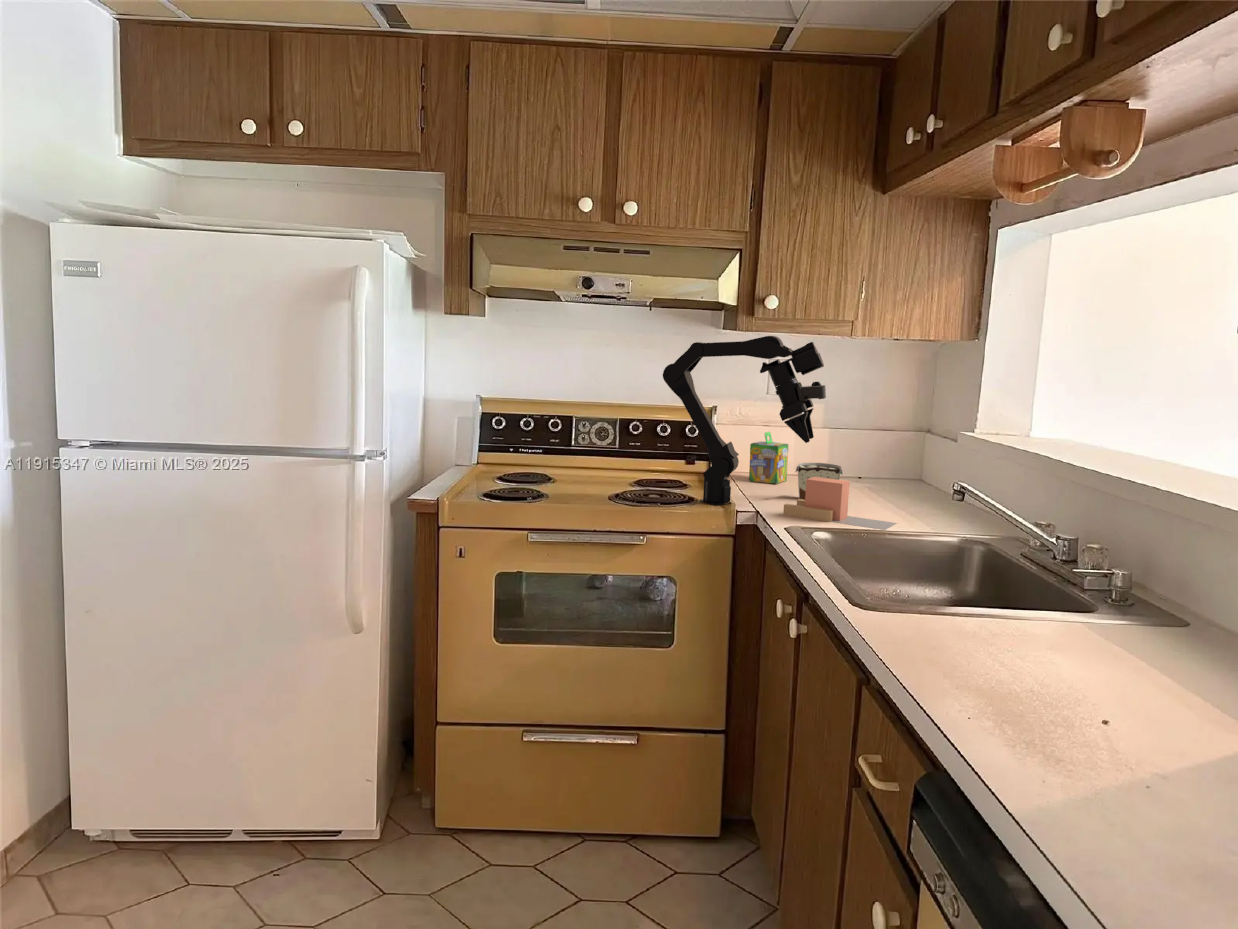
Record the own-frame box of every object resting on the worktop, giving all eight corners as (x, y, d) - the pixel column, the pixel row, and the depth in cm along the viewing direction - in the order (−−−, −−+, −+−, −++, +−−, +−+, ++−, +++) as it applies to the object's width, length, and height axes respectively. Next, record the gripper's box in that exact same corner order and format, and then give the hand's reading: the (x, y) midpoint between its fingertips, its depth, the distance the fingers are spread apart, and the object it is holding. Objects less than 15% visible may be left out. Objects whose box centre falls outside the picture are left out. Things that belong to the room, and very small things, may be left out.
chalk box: (776, 485, 266) (779, 435, 264) (747, 481, 270) (750, 432, 268) (787, 481, 274) (790, 432, 271) (759, 477, 278) (762, 429, 276)
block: (804, 515, 219) (806, 479, 218) (811, 512, 223) (814, 476, 222) (839, 521, 214) (842, 483, 213) (847, 517, 218) (849, 481, 217)
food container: (837, 499, 245) (839, 463, 244) (840, 504, 239) (843, 466, 237) (791, 497, 246) (793, 461, 245) (793, 501, 240) (795, 464, 239)
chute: (779, 516, 220) (780, 504, 220) (794, 510, 228) (795, 498, 228) (884, 532, 206) (885, 519, 206) (897, 525, 214) (898, 512, 213)
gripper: (811, 371, 214) (837, 431, 214) (819, 368, 232) (843, 424, 232) (768, 389, 218) (793, 449, 218) (779, 385, 235) (802, 440, 235)
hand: (809, 440), depth 226 cm, fingers open, 9 cm apart
